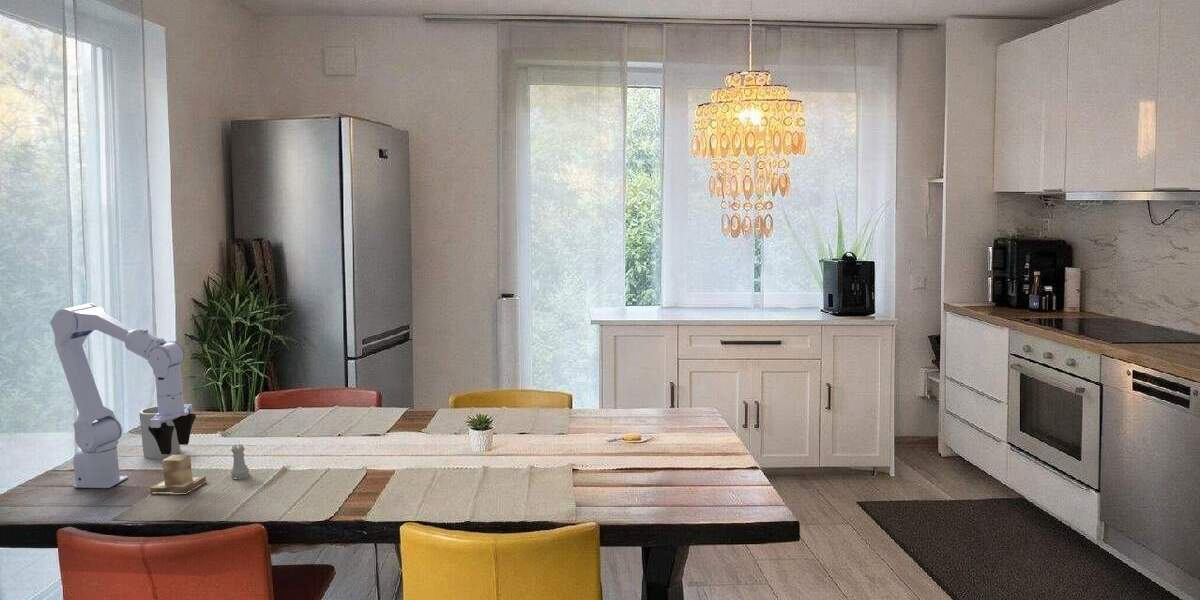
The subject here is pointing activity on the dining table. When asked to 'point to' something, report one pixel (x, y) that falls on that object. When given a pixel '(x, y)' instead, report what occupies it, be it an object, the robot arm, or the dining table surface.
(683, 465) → the dining table surface
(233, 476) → the rook chess piece
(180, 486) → the picture frame
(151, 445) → the cup
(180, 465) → the oak block
